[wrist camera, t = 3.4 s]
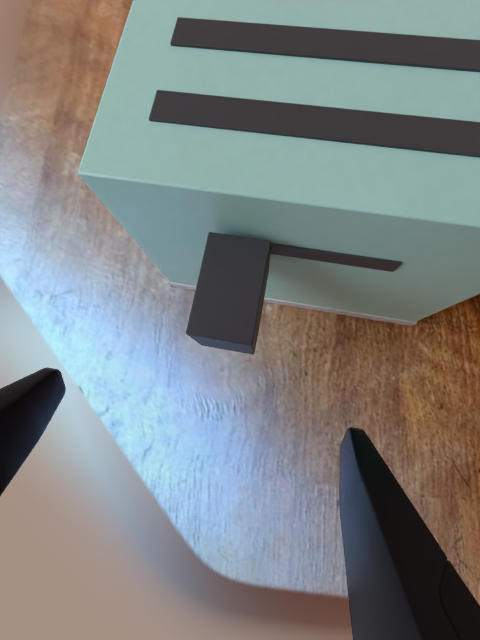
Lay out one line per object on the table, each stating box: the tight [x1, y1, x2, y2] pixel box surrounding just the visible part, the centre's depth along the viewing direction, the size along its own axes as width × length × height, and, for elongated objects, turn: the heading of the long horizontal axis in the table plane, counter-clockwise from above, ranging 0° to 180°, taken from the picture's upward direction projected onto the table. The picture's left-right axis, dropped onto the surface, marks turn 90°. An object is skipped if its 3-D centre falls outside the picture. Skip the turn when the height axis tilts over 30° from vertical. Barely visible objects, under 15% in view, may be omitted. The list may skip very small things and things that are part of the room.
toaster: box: [78, 0, 480, 326], centre depth 17 cm, size 9×16×12 cm, turn 79°
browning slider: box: [186, 232, 271, 354], centre depth 13 cm, size 4×2×3 cm, turn 169°
